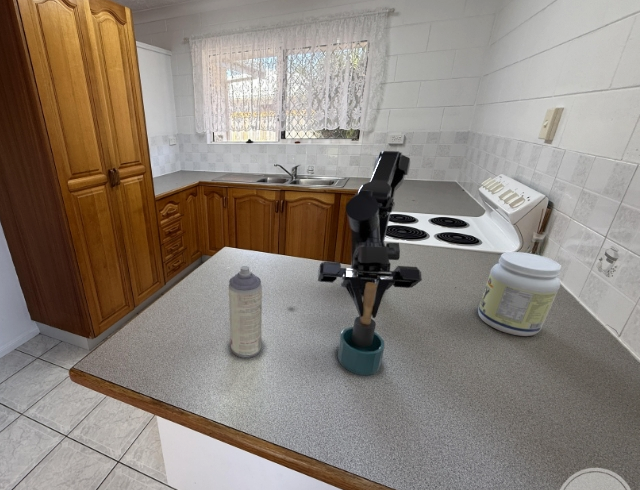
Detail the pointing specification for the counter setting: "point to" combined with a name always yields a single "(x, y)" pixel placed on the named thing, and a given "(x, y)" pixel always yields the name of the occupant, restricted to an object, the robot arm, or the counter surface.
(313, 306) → the counter surface
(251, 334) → the aerosol can
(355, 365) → the teal cup
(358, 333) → the brush
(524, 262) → the supplement tub
